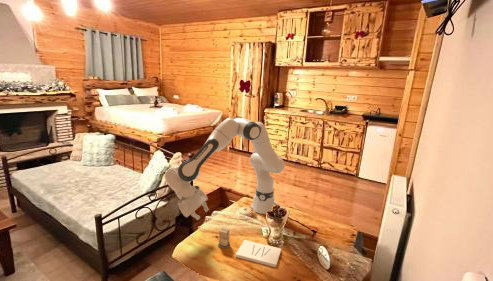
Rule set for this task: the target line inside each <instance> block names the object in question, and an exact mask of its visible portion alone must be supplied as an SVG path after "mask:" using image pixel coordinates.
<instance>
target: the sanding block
mask: <svg viewBox="0 0 493 281" xmlns="http://www.w3.org/2000/svg"><path fill="white" fill-rule="evenodd" d="M218 233H219V234H218V245H217V247H218V248H221V249H227V248H228V247H229V246H230V228H227V227H221V228H220V229H219V232H218Z"/></svg>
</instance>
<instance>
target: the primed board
mask: <svg viewBox="0 0 493 281" xmlns="http://www.w3.org/2000/svg"><path fill="white" fill-rule="evenodd" d="M281 252H282V248H279V247H276V246H272V245H268V244H263V243H260V242H255V241H251V240H247V239H244V240H243V242H242V243H241V244H240V246H239V248H238V249H237V251H236V253H235V258H238V259H242V260H246V261H248V262H249V261H250V262H254V263H258V264H262V265H266V266H269V267H272V268H273V267H274V268H277V265H278V261H279V259H280V255H281Z"/></svg>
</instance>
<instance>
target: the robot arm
mask: <svg viewBox="0 0 493 281" xmlns="http://www.w3.org/2000/svg"><path fill="white" fill-rule="evenodd" d="M268 133H269V132H268V131H267V128H266V126H265V124H264V123H263V122H261V121H253V120H251V119H248V118H244V117H242V116H235V117H233V118H232V117H227V118H225V119H224V120H223V121H221V123H219V124H218V125H217V126H216V127H215V128H214V129H213V131H212V132H211V133H210V135H209V136H208V138H207V140H206V141H205V143H204V144H203V145H202V146H201V147H200V149H199V150H197V151H196V152H195V154H194V155H193V156H192V157H191V158H189V159H187V160H185V161H183V162H182V163H181V164H180V165H178V166H177V165H176V166H171V167H170V168H169V169H168V170H167V171H166V172H165V174H164V180H165V182H166V183H167V184H168V187H170V188H171V190H173V191H174V193H175V195H176V197H177V198H178V199H179V200H177V206H178V208H179V210H180V212H181V213H182V215H183V217H185V218H189V216H191V217H193V218H194V219H195V220H196V221H199V220H200V219H201V216H200V215H199V214H197V213H196V210H197V209H198V208H200V207H201V206H202V207H203V210H204V212H205V213H207V212H208V211H210V209H209V207H208V205H207V202H206V201H208V200H209V199H208V195H206V193H205V192H204V191H203V190H202V189H201V187H200V185H197V184H196V185H191V182H192V181H196V180H197V179H199V177H200V175H201V167H202V166H203V165H204V164H205V162H206V161H207V160H208V159H209V158H210V157H211V156H212V155H214V154H215V153H216V152H221V151H222V150H224V149H225V148H226V147H227V146H228V145H229V144H230V142H232V140H233V139H234V137H237V136H238V137H240V138H243V139H246V140H247V141H251V144H252V147H253V151H254V152H253V153H252V154H251V155H250V156H249V157H250V158H249V163H250V166H251V167H252V168H253V169H254V172H255V176H256V189H255V195H253V198H252V200H253V201H252V203H251V205H250V209H251V210H253V212H255V213H257V214H261V215H267V214H266V213H267V212H268V211H271V210H272V207H273V205H277V206H278V201H276V200H275V199H276V198H275V195H274V194H275V193H274V182H275V181H274V178H273V177H272V175H271V174H281V173H282V172H283V171H284V169H285V165H286V164H285V161H284V159H282V157H281V156H279V155H278V153H276V151H275V150H274V148H273V146H272V143H271V140H270V137H269V134H268ZM270 173H271V174H270Z"/></svg>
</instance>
